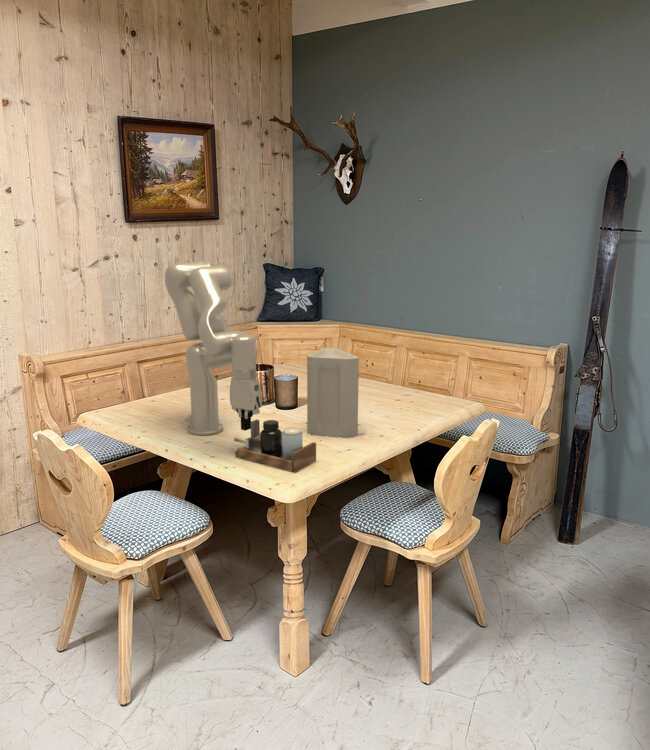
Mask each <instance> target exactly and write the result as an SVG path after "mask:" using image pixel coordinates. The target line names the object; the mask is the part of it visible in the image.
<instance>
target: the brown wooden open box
mask: <svg viewBox="0 0 650 750" xmlns="http://www.w3.org/2000/svg"><path fill="white" fill-rule="evenodd" d="M235 458H238V459H242V460H245V461H250V462H252V463H255V464H256V463H257V464H261V465H264V466H268V467H272V468H275V469H280V470H283V471H286V472H287V471H288V472H291V473H297V472H299V471H300V470H303V469H304V468H307V467H308V466H310V465H311V464H313V463H315V462H317V442H310V443H308V444H307V445H305V446H303V448H301V449H299V450H297V451H295V452H293V453H292V461H291V460H287V459H283V458H279V457H275V456H271V455H267V454H263V453H261V452H260V453H259V452H255V451H251V450H247V449H246V446H244V447H237V448H236V450H235Z"/></svg>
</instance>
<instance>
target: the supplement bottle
mask: <svg viewBox="0 0 650 750" xmlns="http://www.w3.org/2000/svg"><path fill="white" fill-rule="evenodd" d="M279 427H280V425H279V420H275V419H268V420H265V421H263V423H262V430H261V432H260V439H261V452H260V453H263V454H267V455H271V456H275V457H279V458H282V432H283V431H282V430H281V429H279Z"/></svg>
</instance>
